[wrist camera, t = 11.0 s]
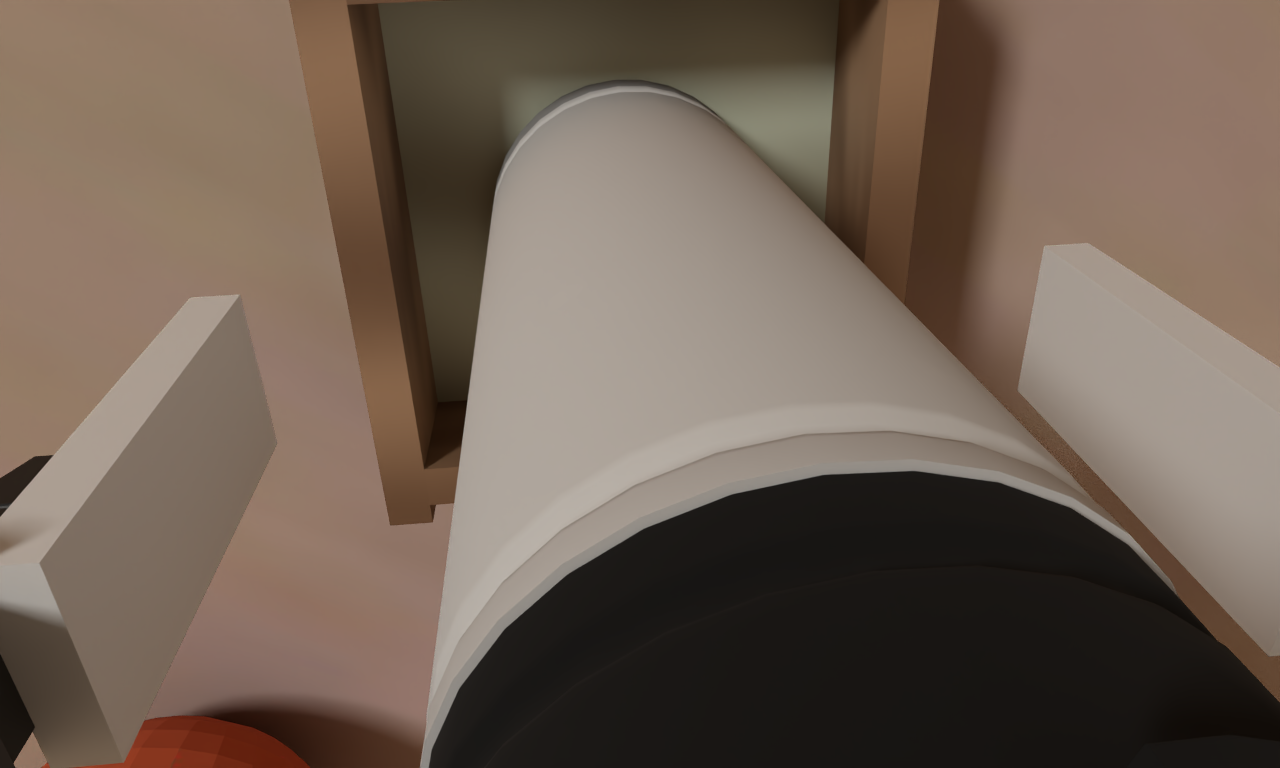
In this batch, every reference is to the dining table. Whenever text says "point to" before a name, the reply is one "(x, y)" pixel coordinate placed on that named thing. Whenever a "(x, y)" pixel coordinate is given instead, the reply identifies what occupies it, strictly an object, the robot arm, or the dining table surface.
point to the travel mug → (771, 503)
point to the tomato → (204, 746)
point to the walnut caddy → (513, 95)
